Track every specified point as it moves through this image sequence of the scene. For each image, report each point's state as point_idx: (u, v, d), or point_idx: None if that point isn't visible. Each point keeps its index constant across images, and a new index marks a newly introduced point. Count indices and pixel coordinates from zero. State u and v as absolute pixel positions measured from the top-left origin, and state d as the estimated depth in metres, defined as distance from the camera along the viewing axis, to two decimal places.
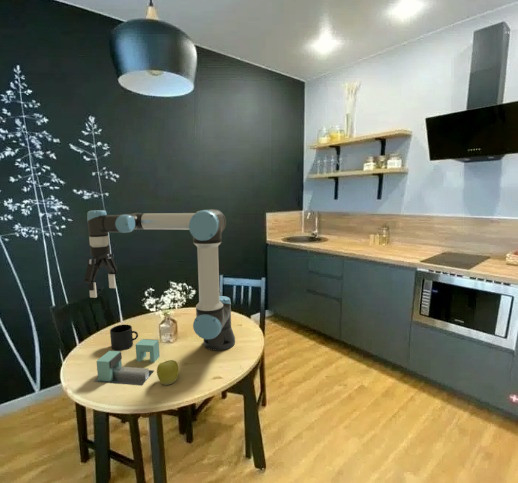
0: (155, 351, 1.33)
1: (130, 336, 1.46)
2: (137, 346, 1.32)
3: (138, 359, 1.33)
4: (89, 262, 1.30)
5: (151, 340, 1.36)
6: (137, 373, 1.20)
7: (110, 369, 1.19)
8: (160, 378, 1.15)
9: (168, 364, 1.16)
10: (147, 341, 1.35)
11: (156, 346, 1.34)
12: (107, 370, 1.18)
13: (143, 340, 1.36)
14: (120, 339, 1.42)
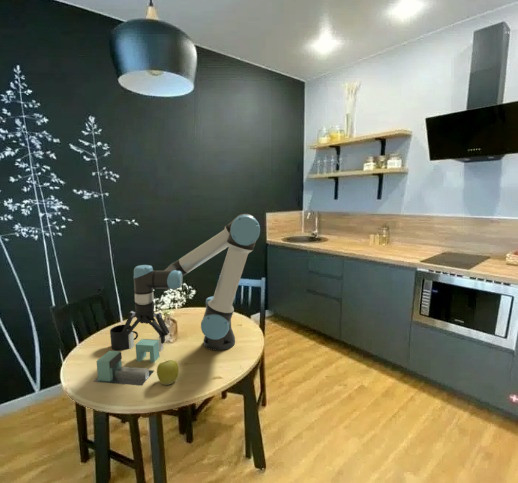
0: (155, 351, 1.33)
1: None
2: (137, 346, 1.32)
3: (138, 359, 1.33)
4: None
5: (151, 340, 1.36)
6: (137, 373, 1.20)
7: (110, 369, 1.19)
8: (160, 378, 1.15)
9: (168, 364, 1.16)
10: (147, 341, 1.35)
11: (156, 346, 1.34)
12: (107, 370, 1.18)
13: (143, 340, 1.36)
14: (120, 339, 1.42)
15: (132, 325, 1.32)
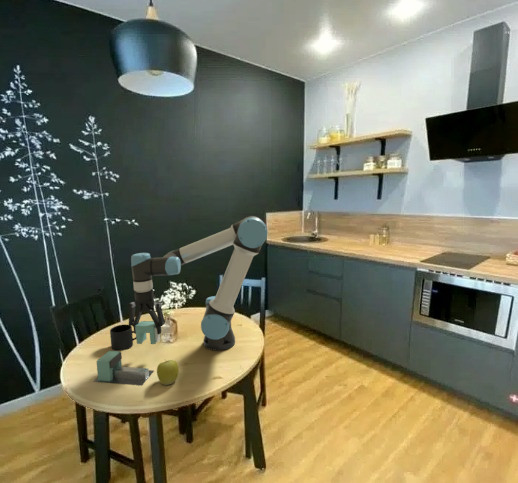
0: None
1: (130, 336, 1.46)
2: (137, 327, 1.31)
3: (138, 341, 1.32)
4: None
5: (151, 321, 1.35)
6: (137, 373, 1.20)
7: (110, 369, 1.19)
8: (160, 378, 1.15)
9: (168, 364, 1.16)
10: (147, 322, 1.34)
11: None
12: (107, 370, 1.18)
13: (143, 322, 1.35)
14: (120, 339, 1.42)
15: (136, 316, 1.32)
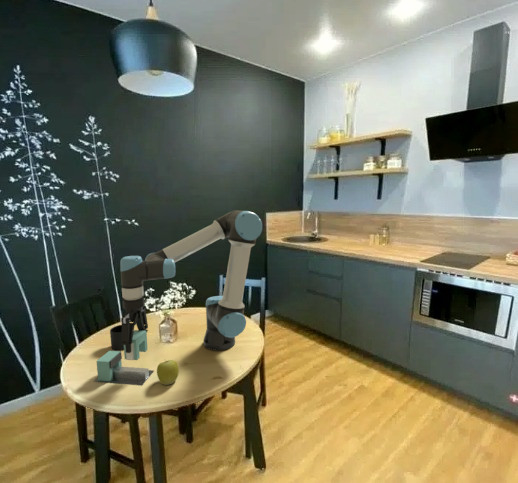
0: None
1: None
2: (137, 340, 1.15)
3: (138, 355, 1.16)
4: (123, 322, 1.11)
5: None
6: (137, 373, 1.20)
7: (110, 369, 1.19)
8: (160, 378, 1.15)
9: (168, 364, 1.16)
10: None
11: None
12: (107, 370, 1.18)
13: None
14: (120, 339, 1.42)
15: (132, 330, 1.14)
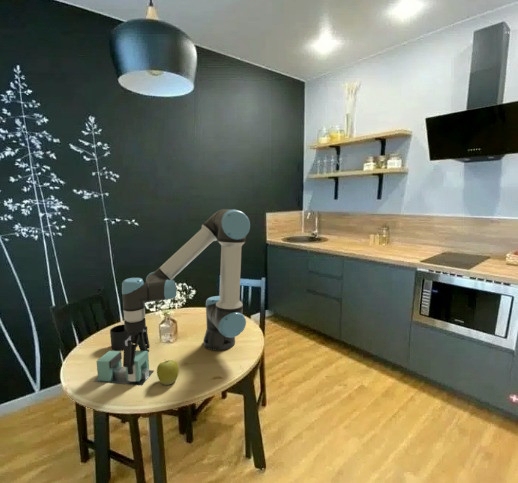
0: None
1: None
2: (139, 362, 1.17)
3: (140, 377, 1.18)
4: (125, 344, 1.12)
5: None
6: None
7: (110, 369, 1.19)
8: (160, 378, 1.15)
9: (168, 364, 1.16)
10: None
11: None
12: (107, 370, 1.18)
13: None
14: (120, 339, 1.42)
15: (134, 352, 1.16)
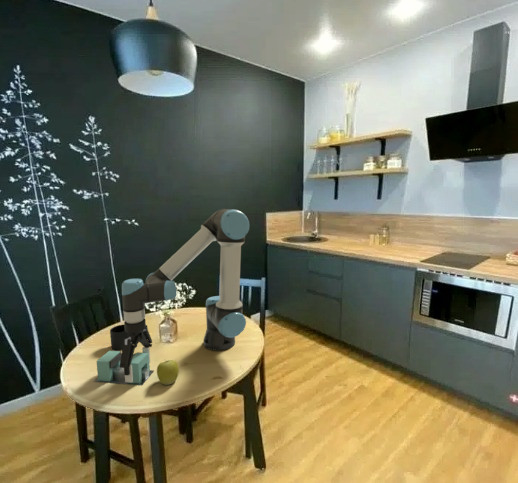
0: None
1: None
2: (139, 364, 1.17)
3: (140, 379, 1.18)
4: (125, 343, 1.12)
5: (134, 356, 1.22)
6: None
7: (110, 369, 1.19)
8: (160, 378, 1.15)
9: (168, 364, 1.16)
10: (135, 358, 1.20)
11: None
12: (107, 370, 1.18)
13: None
14: (120, 339, 1.42)
15: (132, 352, 1.14)
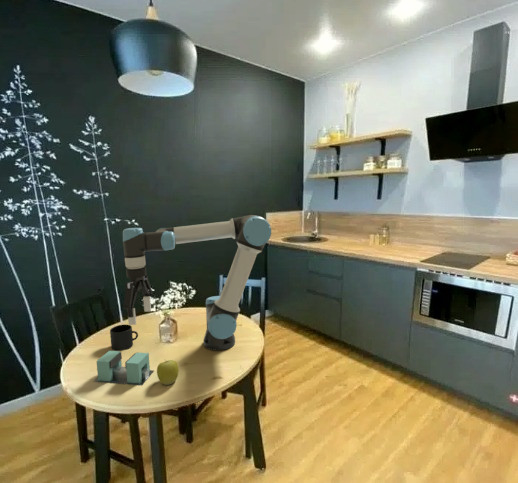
0: None
1: (130, 336, 1.46)
2: (139, 364, 1.17)
3: (140, 379, 1.18)
4: (127, 286, 1.18)
5: (134, 356, 1.22)
6: None
7: (110, 369, 1.19)
8: (160, 378, 1.15)
9: (168, 364, 1.16)
10: (135, 358, 1.20)
11: None
12: (107, 370, 1.18)
13: (130, 360, 1.18)
14: (120, 339, 1.42)
15: (134, 296, 1.20)
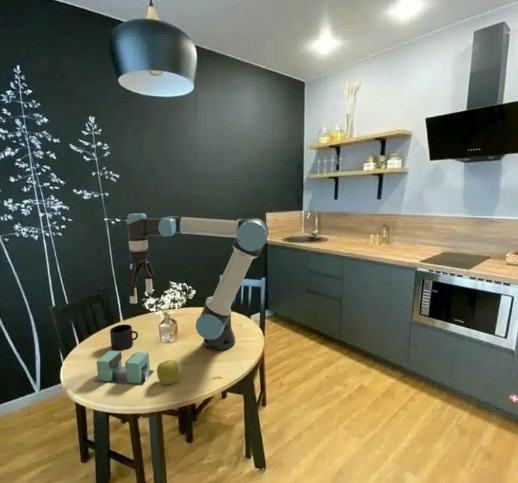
0: None
1: (130, 336, 1.46)
2: (139, 364, 1.17)
3: (140, 379, 1.18)
4: (130, 267, 1.26)
5: (134, 356, 1.22)
6: None
7: (110, 369, 1.19)
8: (160, 378, 1.15)
9: (168, 364, 1.16)
10: (135, 358, 1.20)
11: None
12: (107, 370, 1.18)
13: (130, 360, 1.18)
14: (120, 339, 1.42)
15: (136, 276, 1.28)
